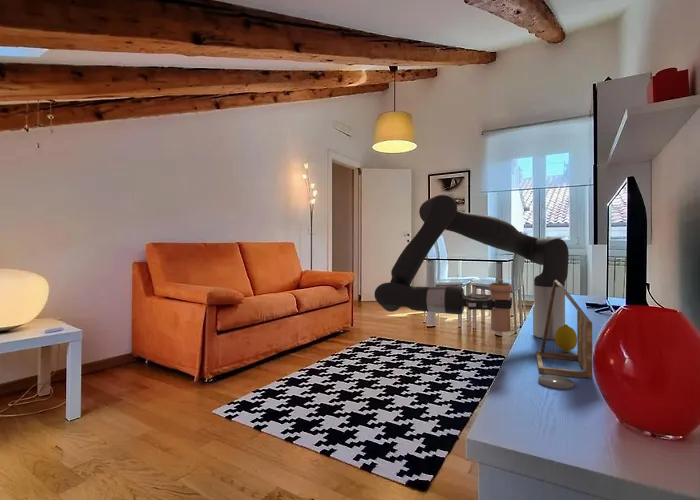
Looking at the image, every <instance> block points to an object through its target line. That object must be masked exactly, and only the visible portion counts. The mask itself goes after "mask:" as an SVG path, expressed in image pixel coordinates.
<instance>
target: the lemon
mask: <svg viewBox="0 0 700 500" xmlns="http://www.w3.org/2000/svg"><path fill="white" fill-rule="evenodd" d="M554 341H555V344H556V346H557V347H558V348H560V350H562V351H563V352H564V353H568V352H569V351H573V350H574V349H575V348H576V346H577V333H576V331H575V329H574V328H573V327H571V326H569V325H568V324H565V325H564V326H561V327H559V328H558V329H557V331H556V334H555V340H554Z"/></svg>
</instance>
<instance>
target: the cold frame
mask: <svg viewBox="0 0 700 500" xmlns="http://www.w3.org/2000/svg"><path fill="white" fill-rule="evenodd" d="M556 284H557V285H558V286H559V288H560V289H561V290H562V292H563V293H564V294H565V298H567V300H569V302H570V303H571V305H572V306H573V307H574V308H575V310H576V311H577V312H576V313H577V314H576V317H577V322H576V323H577V328H576V329H577V333H576V335H577V344H576V346H577V348H576V349H577V354H572V353H571V354H570V353H561V352H558V353H557V352H550V351H545V348H546V344H547V343H546V342H547V339H546V338H547V333H548V327H549V322H550V316H551V311H552V306H553V300H554V295H555V289H556ZM535 356H536V357H535V358H536V363H537V367H538V368H537V370H538V373H540V374H544V375H557V376H562V377H572V376H576V377H575V378H581V377H589V378H588V379H590V378H592V379H593V322H592V320H591V319H590V318H589V317H588V316H587V315H586V313H585V312H584V311H583V309H582V308H581V307H580V306H579V304H578V303H577V301H575V299H574V298H573V297H572V295H571V294H570V293H569V292H568V291H567V289H566V287H565V288H564V287H563V285H562V284H561V283H559V282H558V281H557V280H554V282H553V287H552V293H551V298H550V304H549V309H548V314H547V320H546V325H545V331H544V336H543V338H542V342H541V348H540V351H538V350H537V351H535ZM542 358H549V359H550V358H551V359H558V360H570V361H578V364H580V367H581V366H582V367H581V369H582V368H583V369H582V370H573V369H566V368H565V369H564V368H555V367H545V366H544V364H543V359H542ZM583 370H584V371H583Z"/></svg>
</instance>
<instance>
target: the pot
mask: <svg viewBox="0 0 700 500" xmlns="http://www.w3.org/2000/svg"><path fill="white" fill-rule="evenodd" d="M488 289H489V291H490V295H491V299H495V301H496V299H498V300H510V297H511V292H512V291H513V284H511V283H509V282H504V279H503V278H500V277H499V278H498V279H497V282H491V283H489V284H488ZM490 330H491V331H493V332H500V333H506V332H507V333H508V332H509V333H510V332H511V309H500V308H496V307H495V309H492V310H490Z"/></svg>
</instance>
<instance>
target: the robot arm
mask: <svg viewBox="0 0 700 500" xmlns="http://www.w3.org/2000/svg"><path fill="white" fill-rule="evenodd" d="M418 212H419V217H420V219H421V220H422V222H423V224H422V226H421V227H420V229H419V230H418V232H417V233H416V235H414V237H413V238H412V239H411V240H410V241H409V242H408V244H407V245H406V246H405V247H404V249H403V250H402V251H401V253H400V255H399V256H398V258H397V260H396V262H395V263H394V265H393V266H392V268H391V271H390V273H391V275H390V276H391V279H390V282H383V283H381V284H379V285H378V286H377V287H376V288H375V290H374V298H375V301H376V302H377V303H378V305H380V306H381V307H382V308H383V309H384V310H385V311H387V312H390V313H391V312H392V313H394V312H396V311H398V310H399V309H401V308H408V309H410V310H411V311H415V312H429V313H436V314H446V315H448V314H449V315H463V313H464V310H465V308H467V310H469V311H472V310H475V311H477V310H479V311H481V310H482V311H486V310H487V311H491V310H492V309H495V307H496V308H500V309H510V310H511V309H512V305H513V298H512V297H511V296H510V300H498V299H496V301H495V299H491V294H486V293H476V292H475V293H474V292H470V294H469V295H466V294H465V289H464V288H463V287H462V286H445V285H444V286H442V285H441V286H440V285H439V286H438V285H437V286H413V285H411V284H412V281H414V279H415V277H416V275H417V273H418V271H419V269H420V268H421V266H422V264H423V263H424V261H425V259H426V258H427V256H428V254H429V253H430V251H431V250H432V247H434V245H435V243H436V242H437V241H438V240H439V238H440V237H441V235H442V234H443V232H445V230H446V231H449V232H453V233H455V234H458V235H461V236H463V237H466V238H467V239H471V240H473V241H476V242H479V243H481V244H483V245H486V246H488V247H492V248H495V249H498V250H502V251H505V252H509V253H513V254H515V255H518V256H520V257H522V258H524V259H526V260H529V261H530V262H532V263H534V264H536V265H540V266H542V271H541V273H540V274H539V275H536V276H535V277H534V279H533V285H534V286H533V299H534V300H533V303H534V304H533V307H532V333H533V335H534V337H536V338H539V339H543V336H544V331H545V325H546V320H547V314H548V309H549V304H550V298H551V293H552V287H553V282H554V280H557V281H558V282H559V283H561V284H562V285H563V287H564V288H565V289H566V280H567V279H568V274H569V259H570V257H569V255H570V254H569V247H568V245H567V243H566V241H565V240H563V239H562V238H559V237H545V238H544V237H534V236H531V235H527V234H525V233H522V232H520V231H519V230H518V228H516V227H515V226H514V225H513V224H511V223H509V222H508V221H505V220H502V219H501V218H498V217H495V216H491V215H486V214H482V213H481V214H480V213H473V212H472V213H471V212H467V211H466V212H464V211H460V210H458V204H457V202H456V200H455V198H454V197H453V196H450V194H449V195H448V194H437V195H435V196H433V197H431V198H429V199H426V200H425V201H424V202H423V203H421V205H420V207H419V211H418ZM564 325H566V295H565V294H564V293H563V292H562V290H561V289H560V288H559V286H558V285H557V284H556V289H555V295H554V300H553V306H552V311H551V316H550V322H549V327H548V333H547V338H546V340H553V341H555V334H556V331H557V329H558V328H559V327H561V326H564Z"/></svg>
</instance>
